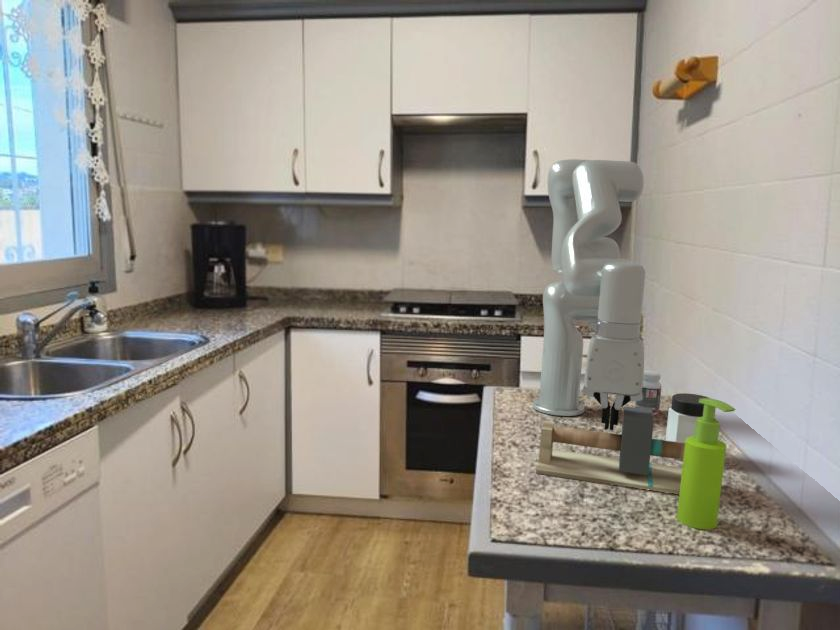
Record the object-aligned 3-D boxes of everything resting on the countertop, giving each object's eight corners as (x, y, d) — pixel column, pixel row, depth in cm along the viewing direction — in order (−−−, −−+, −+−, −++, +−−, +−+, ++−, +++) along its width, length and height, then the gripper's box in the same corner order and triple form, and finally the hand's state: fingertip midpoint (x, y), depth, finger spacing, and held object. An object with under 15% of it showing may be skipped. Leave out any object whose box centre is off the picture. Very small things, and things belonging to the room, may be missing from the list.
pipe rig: (543, 451, 134) (546, 416, 133) (703, 474, 126) (708, 436, 124) (535, 473, 123) (538, 434, 121) (711, 500, 114) (716, 458, 113)
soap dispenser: (702, 535, 101) (717, 408, 98) (668, 515, 108) (681, 395, 104) (730, 529, 104) (745, 405, 101) (696, 510, 110) (709, 393, 107)
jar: (692, 466, 130) (698, 406, 128) (656, 452, 136) (662, 396, 135) (718, 458, 135) (725, 401, 133) (683, 445, 141) (689, 391, 140)
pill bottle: (662, 416, 162) (666, 376, 161) (638, 415, 162) (642, 375, 161) (654, 409, 168) (658, 371, 166) (631, 408, 168) (635, 370, 166)
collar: (619, 456, 127) (624, 406, 126) (646, 460, 126) (651, 409, 125) (619, 470, 120) (624, 417, 119) (648, 475, 119) (653, 421, 117)
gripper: (574, 330, 119) (566, 428, 122) (662, 338, 115) (652, 439, 118) (577, 323, 126) (569, 417, 129) (660, 331, 122) (650, 427, 125)
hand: (609, 427), depth 124 cm, fingers closed
